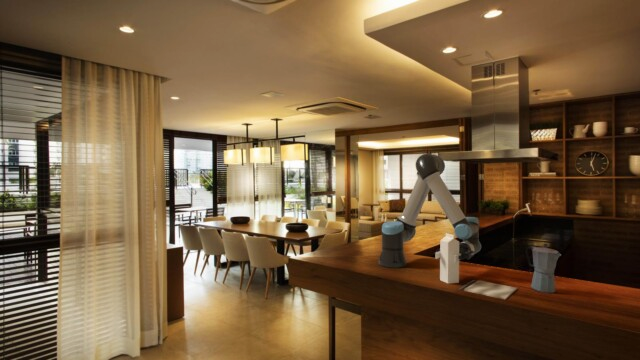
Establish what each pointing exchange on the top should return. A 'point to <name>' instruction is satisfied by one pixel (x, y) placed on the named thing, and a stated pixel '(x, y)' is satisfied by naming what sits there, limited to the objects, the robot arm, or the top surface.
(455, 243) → the milk
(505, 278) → the top surface
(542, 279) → the moka pot
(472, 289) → the mat
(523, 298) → the top surface
